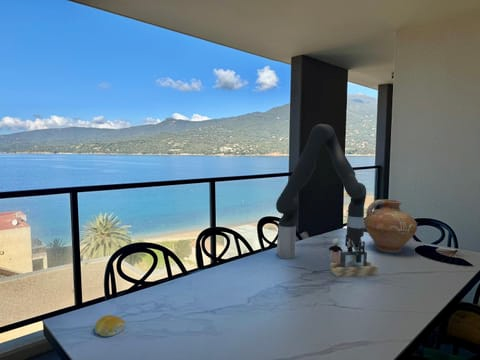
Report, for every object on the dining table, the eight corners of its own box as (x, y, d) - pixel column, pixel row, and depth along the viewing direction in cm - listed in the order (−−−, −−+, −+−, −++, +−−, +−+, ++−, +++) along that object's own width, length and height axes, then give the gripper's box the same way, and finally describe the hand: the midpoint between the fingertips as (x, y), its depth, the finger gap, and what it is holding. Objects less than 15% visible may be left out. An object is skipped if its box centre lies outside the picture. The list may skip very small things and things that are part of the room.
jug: (426, 258, 173) (429, 203, 171) (373, 257, 174) (376, 203, 171) (400, 243, 202) (403, 196, 199) (355, 243, 202) (357, 196, 199)
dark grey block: (342, 270, 149) (342, 253, 148) (339, 268, 151) (340, 251, 151) (366, 269, 150) (366, 252, 150) (363, 267, 153) (364, 250, 152)
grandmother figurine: (341, 262, 166) (342, 238, 165) (343, 264, 162) (344, 240, 161) (326, 261, 167) (327, 237, 166) (327, 264, 163) (328, 239, 162)
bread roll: (111, 320, 107) (111, 308, 107) (129, 328, 102) (129, 316, 102) (88, 331, 100) (88, 319, 100) (106, 340, 95) (106, 328, 95)
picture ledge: (337, 276, 146) (337, 268, 146) (329, 270, 154) (330, 262, 153) (378, 275, 148) (378, 267, 148) (368, 269, 156) (369, 261, 156)
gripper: (340, 222, 156) (339, 255, 157) (355, 229, 142) (353, 265, 143) (355, 222, 157) (354, 254, 158) (371, 228, 143) (369, 264, 144)
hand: (354, 259), depth 151 cm, fingers open, 8 cm apart
